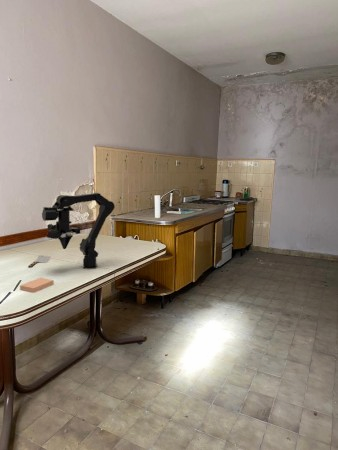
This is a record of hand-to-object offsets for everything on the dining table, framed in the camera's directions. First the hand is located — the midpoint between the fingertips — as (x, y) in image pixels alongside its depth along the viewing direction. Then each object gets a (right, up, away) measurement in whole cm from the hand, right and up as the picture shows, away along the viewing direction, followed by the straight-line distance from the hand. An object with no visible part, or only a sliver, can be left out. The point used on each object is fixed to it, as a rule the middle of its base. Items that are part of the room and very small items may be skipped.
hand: (64, 248), depth 171 cm
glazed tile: (-3, -14, -17) cm, 23 cm away
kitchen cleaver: (-20, -9, +18) cm, 28 cm away
